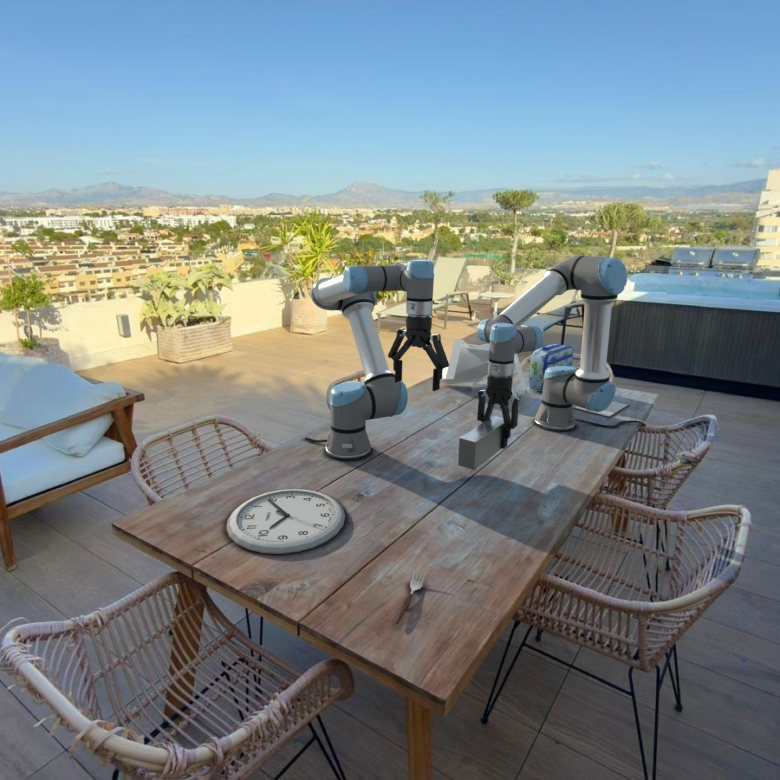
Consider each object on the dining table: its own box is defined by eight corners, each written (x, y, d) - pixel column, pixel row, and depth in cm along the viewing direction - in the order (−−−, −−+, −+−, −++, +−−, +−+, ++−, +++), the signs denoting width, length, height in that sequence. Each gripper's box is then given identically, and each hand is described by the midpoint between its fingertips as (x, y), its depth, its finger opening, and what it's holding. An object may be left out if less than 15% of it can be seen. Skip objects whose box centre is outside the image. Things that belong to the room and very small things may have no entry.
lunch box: (545, 396, 239) (550, 351, 232) (524, 391, 246) (528, 347, 240) (572, 385, 256) (577, 343, 250) (552, 380, 263) (557, 339, 257)
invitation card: (608, 416, 214) (573, 407, 224) (608, 416, 214) (573, 408, 224) (628, 404, 229) (594, 396, 238) (628, 405, 229) (594, 397, 238)
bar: (492, 440, 170) (494, 415, 168) (507, 444, 167) (509, 419, 165) (458, 465, 153) (459, 437, 151) (474, 470, 150) (475, 442, 148)
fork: (390, 624, 100) (390, 615, 100) (415, 574, 115) (415, 567, 114) (403, 627, 99) (403, 619, 99) (426, 577, 114) (426, 569, 113)
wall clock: (345, 545, 122) (213, 550, 119) (345, 551, 122) (214, 556, 120) (344, 484, 150) (238, 487, 148) (345, 490, 151) (239, 492, 148)
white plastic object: (461, 429, 252) (437, 405, 227) (444, 352, 274) (420, 323, 250) (535, 404, 240) (518, 377, 215) (510, 326, 262) (492, 293, 237)
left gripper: (377, 312, 155) (376, 380, 161) (449, 321, 141) (445, 396, 147) (392, 309, 161) (390, 375, 167) (463, 318, 147) (459, 390, 153)
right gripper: (467, 372, 161) (464, 441, 169) (523, 383, 151) (517, 456, 158) (479, 367, 167) (475, 434, 174) (533, 377, 157) (527, 448, 164)
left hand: (416, 385), depth 157 cm, fingers open, 13 cm apart
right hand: (495, 444), depth 166 cm, fingers closed on bar, 5 cm apart
